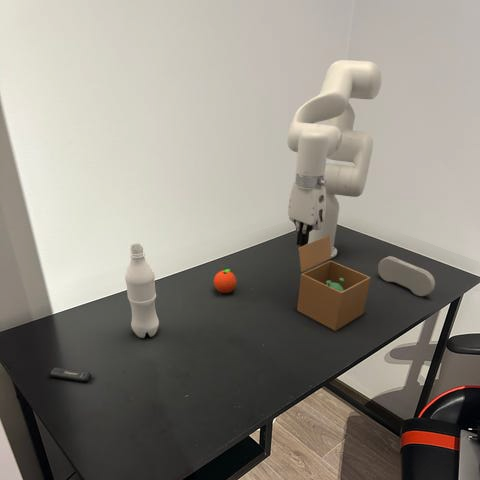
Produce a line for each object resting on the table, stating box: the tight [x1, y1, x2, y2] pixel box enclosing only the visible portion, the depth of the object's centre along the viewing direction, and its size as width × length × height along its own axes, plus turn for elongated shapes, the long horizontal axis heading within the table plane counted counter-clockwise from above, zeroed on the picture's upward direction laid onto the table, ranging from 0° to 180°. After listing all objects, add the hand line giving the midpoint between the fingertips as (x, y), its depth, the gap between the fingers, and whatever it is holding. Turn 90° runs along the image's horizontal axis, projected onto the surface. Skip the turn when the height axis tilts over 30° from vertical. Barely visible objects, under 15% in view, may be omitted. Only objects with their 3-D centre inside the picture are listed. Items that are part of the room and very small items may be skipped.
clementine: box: [213, 268, 237, 294], centre depth 138 cm, size 8×7×7 cm
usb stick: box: [49, 367, 92, 383], centre depth 104 cm, size 10×3×2 cm, turn 78°
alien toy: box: [326, 278, 344, 292], centre depth 129 cm, size 7×8×10 cm
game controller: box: [377, 255, 436, 297], centre depth 143 cm, size 20×2×8 cm, turn 39°
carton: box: [296, 260, 372, 332], centre depth 128 cm, size 14×13×12 cm
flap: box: [297, 236, 332, 273], centre depth 127 cm, size 7×13×1 cm
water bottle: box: [124, 243, 160, 339], centre depth 114 cm, size 7×7×25 cm
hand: (302, 244), depth 130 cm, fingers closed
